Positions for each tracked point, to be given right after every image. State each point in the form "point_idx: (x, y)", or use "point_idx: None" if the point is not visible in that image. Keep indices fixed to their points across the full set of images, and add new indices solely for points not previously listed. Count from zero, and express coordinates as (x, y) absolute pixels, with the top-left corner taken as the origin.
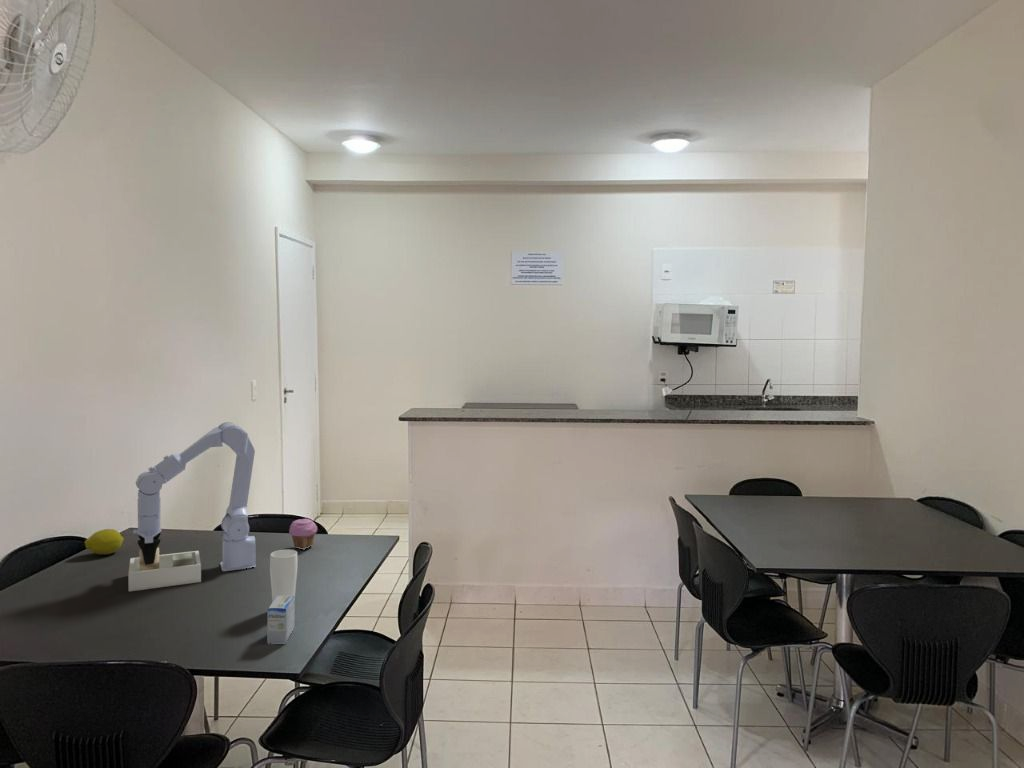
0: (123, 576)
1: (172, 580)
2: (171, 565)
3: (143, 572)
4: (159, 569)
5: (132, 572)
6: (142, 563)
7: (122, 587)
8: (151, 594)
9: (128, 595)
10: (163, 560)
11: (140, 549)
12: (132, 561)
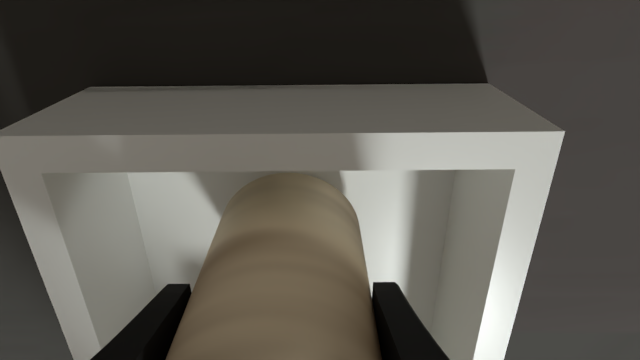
0: (486, 28)
1: None
2: (437, 341)
3: (36, 253)
4: (80, 355)
5: (24, 171)
6: (210, 262)
7: (201, 36)
8: (10, 222)
9: (5, 89)
10: (457, 338)
11: (316, 349)
12: (422, 156)
